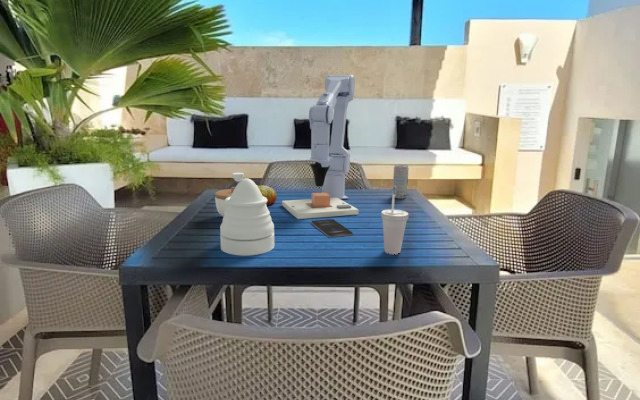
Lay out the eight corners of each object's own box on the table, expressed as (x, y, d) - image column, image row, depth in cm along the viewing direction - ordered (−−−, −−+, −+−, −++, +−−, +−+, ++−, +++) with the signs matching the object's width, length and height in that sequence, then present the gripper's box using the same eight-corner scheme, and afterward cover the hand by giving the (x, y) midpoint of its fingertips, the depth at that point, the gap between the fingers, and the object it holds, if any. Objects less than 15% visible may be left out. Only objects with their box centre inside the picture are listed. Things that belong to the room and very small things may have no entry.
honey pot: (226, 258, 96) (224, 179, 92) (216, 241, 108) (213, 170, 104) (281, 251, 101) (281, 176, 97) (265, 235, 113) (265, 167, 109)
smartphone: (329, 236, 112) (309, 220, 126) (329, 239, 112) (309, 223, 126) (354, 233, 115) (333, 218, 128) (354, 237, 115) (333, 221, 129)
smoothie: (376, 247, 106) (379, 191, 102) (402, 247, 106) (405, 191, 103) (382, 256, 99) (385, 197, 96) (409, 256, 100) (413, 197, 97)
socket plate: (282, 205, 146) (282, 199, 145) (336, 201, 153) (336, 195, 152) (297, 219, 129) (298, 211, 129) (358, 214, 136) (358, 207, 136)
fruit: (276, 206, 143) (269, 183, 141) (246, 214, 144) (239, 192, 142) (280, 198, 154) (273, 177, 152) (252, 205, 154) (245, 185, 153)
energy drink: (405, 195, 165) (408, 164, 162) (407, 199, 160) (409, 166, 157) (391, 195, 165) (393, 164, 163) (392, 198, 160) (394, 166, 157)
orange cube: (311, 208, 143) (311, 192, 142) (326, 207, 144) (326, 191, 143) (314, 212, 138) (315, 195, 137) (329, 211, 139) (330, 195, 138)
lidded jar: (258, 215, 132) (258, 185, 130) (238, 224, 123) (237, 192, 121) (230, 211, 137) (229, 182, 134) (208, 219, 127) (206, 188, 125)
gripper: (338, 146, 130) (337, 190, 133) (326, 141, 144) (325, 181, 147) (315, 146, 129) (315, 190, 132) (306, 141, 142) (305, 182, 145)
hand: (319, 186), depth 139 cm, fingers closed
